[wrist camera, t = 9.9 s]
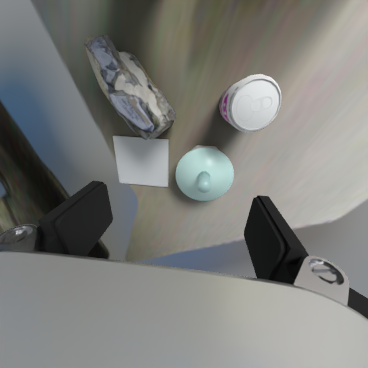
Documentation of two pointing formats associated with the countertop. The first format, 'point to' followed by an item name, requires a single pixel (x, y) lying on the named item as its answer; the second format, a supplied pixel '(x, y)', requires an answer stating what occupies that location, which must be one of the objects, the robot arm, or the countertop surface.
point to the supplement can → (251, 103)
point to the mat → (142, 160)
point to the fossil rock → (129, 88)
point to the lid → (204, 174)
